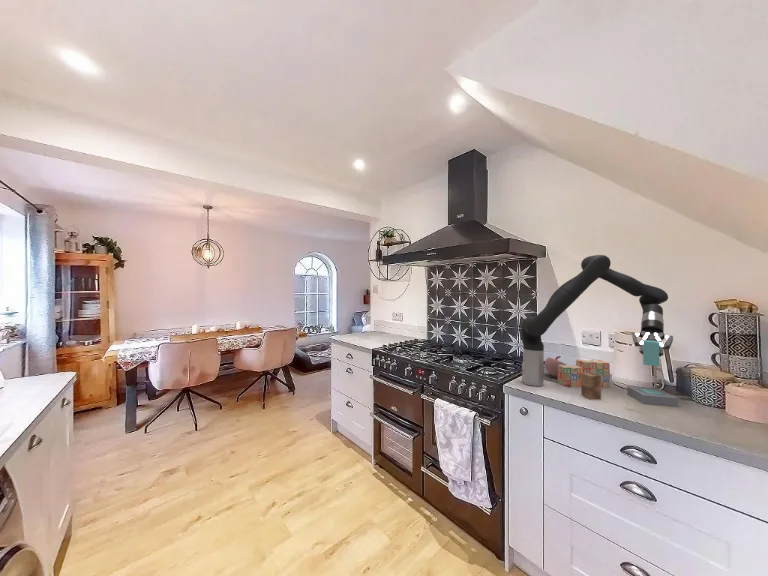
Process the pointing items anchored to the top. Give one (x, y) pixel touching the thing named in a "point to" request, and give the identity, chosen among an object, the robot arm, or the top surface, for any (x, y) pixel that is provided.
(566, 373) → the stack of blocks
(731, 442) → the top surface
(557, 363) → the pink apple
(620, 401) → the top surface
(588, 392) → the walnut block
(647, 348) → the teal block
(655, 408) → the top surface
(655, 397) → the grey square base
